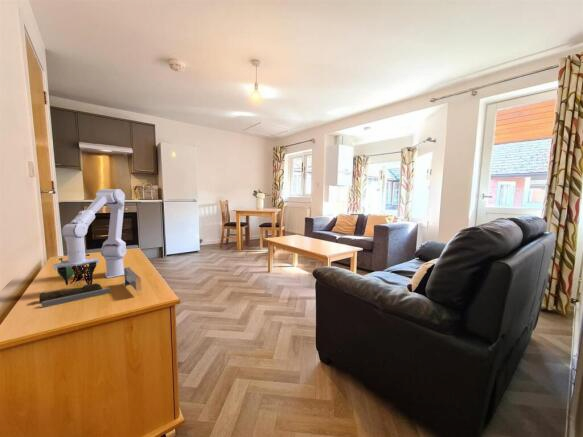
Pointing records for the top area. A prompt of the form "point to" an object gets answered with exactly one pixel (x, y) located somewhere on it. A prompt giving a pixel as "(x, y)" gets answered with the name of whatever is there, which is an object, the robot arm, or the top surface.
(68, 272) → the alien toy
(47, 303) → the bar
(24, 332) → the top surface
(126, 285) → the gate base
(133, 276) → the swing gate
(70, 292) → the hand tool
